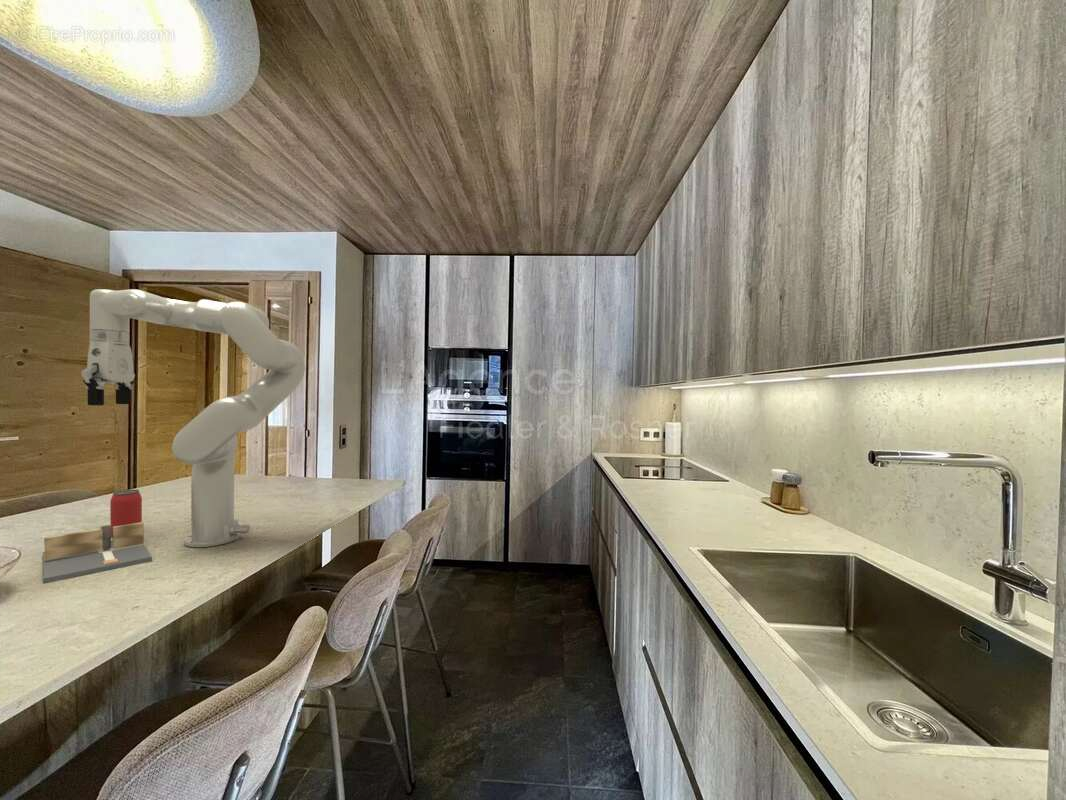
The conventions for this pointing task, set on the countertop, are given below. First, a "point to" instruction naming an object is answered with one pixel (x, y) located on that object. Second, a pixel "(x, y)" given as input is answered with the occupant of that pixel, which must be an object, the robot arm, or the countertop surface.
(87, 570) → the card
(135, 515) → the beer can
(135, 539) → the bar
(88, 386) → the robot arm
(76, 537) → the fence gate
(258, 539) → the countertop surface
